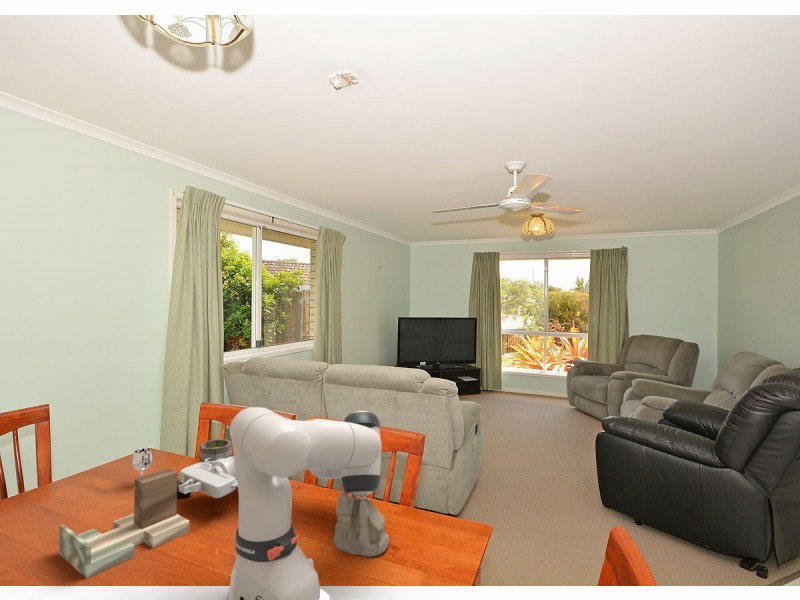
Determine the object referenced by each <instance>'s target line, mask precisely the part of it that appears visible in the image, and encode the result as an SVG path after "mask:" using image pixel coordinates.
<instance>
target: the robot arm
mask: <svg viewBox="0 0 800 600" xmlns="http://www.w3.org/2000/svg"><path fill="white" fill-rule="evenodd" d="M380 428H381V425H380V420H379V417H378V416H377V415H376V414H375V413H373V412H369V411H366V410H358V411H354V412H352V413H349V414H348V415H347V416H346V417H345V418H344V420H343V421H341V420H331V419H323V418H314V419H312V420H296V419H291V418H287V417H286V416H285V417H284V416H282V415H280V414H278V413H276V412H274V411H273V410H270V409H269V408H266V407H259V406H257V407H256V406H253V407H251V406H250V407H247V408H243V410H240V411H239V412H238V413H237V414H236V415H235V416H234V418H232V420H231V423H230V427H229V436H230V439H231V440H230V441H231V442H232V450H233V451H232V452H233V455H232V456H231V457H228V458H222V459H214V458H208V459H205V460H204V462H200V463H199V462H197V463H194V464H192V465H188V466H186V467H184V468H182V469H181V470H180V471H179V480H180V482H181V483H184V484H182V485H180V486H179V491H180V492H182V493H184V494H187V493H189V492H191V493H198V492H201V493H203V494H205V495H208V496H210V497H212V498H214V499H219V498H223V497H224V496H226V495H228V494H231V493H232V492H234V491H235V490H236V488H237V491H238V492H237V493H238V494H237V495H238V515H237V516H238V517H237V518H238V519H237V520H238V522H237V524H238V526H237V527H238V528H237V529H236V531H235V539H234V544H235V548H234V549H235V553H236V556H235V560H234V563H233V567H232V569H231V575H230V583H229V591H228V596H229V599H228V598H227V600H319V598H320V589H323V588H322V586H320V579H319V575H318V572H317V570H316V568H315V563H314V560H313V559H312V558H308V557H307V556H306V555H305V554H304V553H303V551H302V550H301V548H300V546H299V545H298V542H299V541H300V540H301V538H300V536H301V535H300V534H297V535H296V531H295V527H294V524H293V522H292V508H293V507H292V505H293V503H292V502H293V500H292V497H293V490H292V486H291V485H292V484H291V481H290V480H289V478H290V477H293V476H294V475H296V474H297V473H298V472H300V471H304V470H309V472H311V473H312V475H314V476H315V477H317V478H318V479H323V480H331V479H340V480H341V486H342V489H345V493H348V494H349V495H351V496H352V495H355V496H356V497H360V496H368V495H370V494H373V493H375V492H376V491H377V490H378V489H379V487H380V484H381V475H380V474H381V466H382V465H381V462H382V461H381V460H382V449H383V448H382V447H383V446H382V445H383V443H382V439H381V431H380ZM179 480H178V481H179Z"/></svg>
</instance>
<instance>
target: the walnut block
mask: <svg viewBox="0 0 800 600" xmlns="http://www.w3.org/2000/svg"><path fill="white" fill-rule="evenodd" d="M177 481H178V472H177V471H175V470H174V469H171V468H165V469H163V470H159V471H156V472H152V473H150V474H147V475H146V474H145V475H143V477H141V476H140V477H137V478H134V487H135V489H134V500H133V501H134V502H133V514H134V524H135V525H136V526H138V527H139V528H141V529H144V528H146V527H149V526H151V525H154V524H156V523H159V522H161V521H163V520H166V519H168V518H171V517H173V516H176V514H177V504H178V503H177V500H178V497H177Z"/></svg>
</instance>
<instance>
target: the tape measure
mask: <svg viewBox="0 0 800 600" xmlns="http://www.w3.org/2000/svg"><path fill="white" fill-rule="evenodd" d="M182 484H184V483H181V482H180V480H177V498H182V497H186V496H190V495H191V494H192V492H189V493H187V494H184V493H182V492H180V491H179V486H180V485H182Z"/></svg>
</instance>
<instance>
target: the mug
mask: <svg viewBox="0 0 800 600" xmlns="http://www.w3.org/2000/svg"><path fill="white" fill-rule="evenodd" d="M198 448H199V460H198V463H200V462H204V460H205V459H208V458H214V459H222V458H228V457H231V456H233V454H232V452H233V451H232V450H233V444H232V440H229V439H227V438H226V439H225V438H224V439H222V438H215V439H212V440H206V441H204V442H202V443H201V444H200V445H199V446H198Z"/></svg>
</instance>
